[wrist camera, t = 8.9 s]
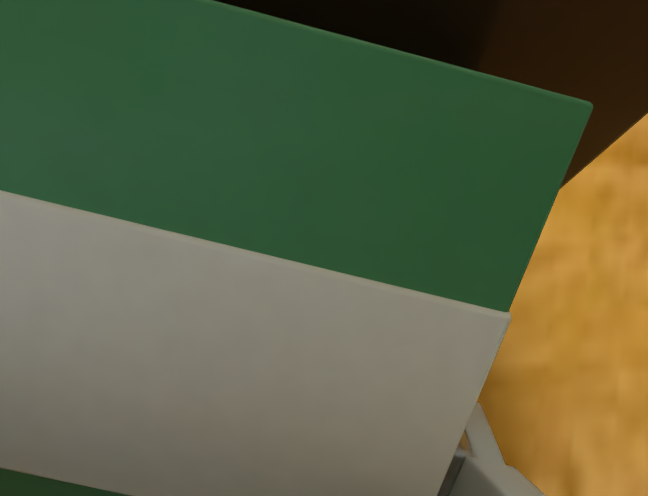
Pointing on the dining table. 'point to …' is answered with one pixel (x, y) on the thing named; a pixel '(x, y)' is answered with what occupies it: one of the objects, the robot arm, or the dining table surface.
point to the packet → (252, 250)
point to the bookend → (510, 47)
